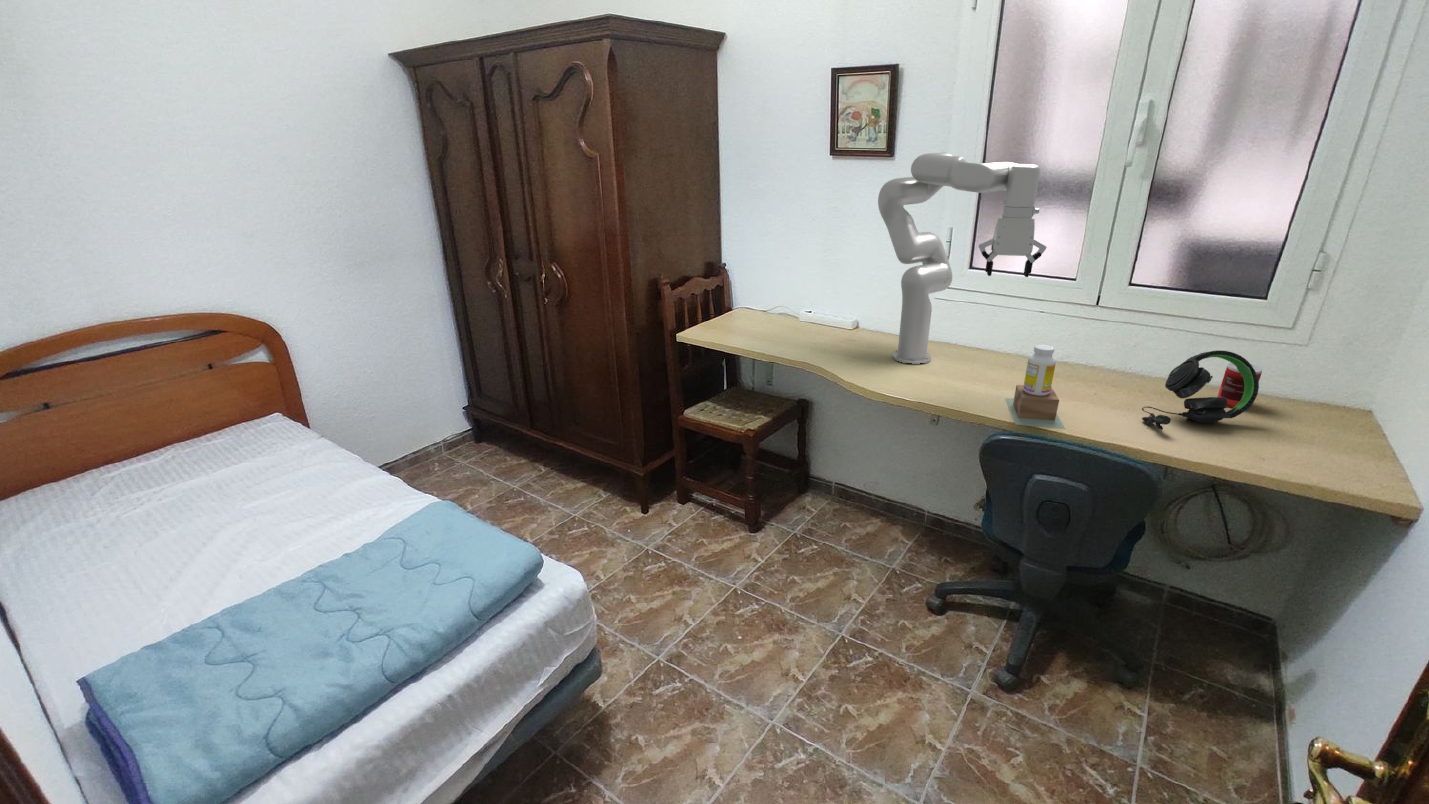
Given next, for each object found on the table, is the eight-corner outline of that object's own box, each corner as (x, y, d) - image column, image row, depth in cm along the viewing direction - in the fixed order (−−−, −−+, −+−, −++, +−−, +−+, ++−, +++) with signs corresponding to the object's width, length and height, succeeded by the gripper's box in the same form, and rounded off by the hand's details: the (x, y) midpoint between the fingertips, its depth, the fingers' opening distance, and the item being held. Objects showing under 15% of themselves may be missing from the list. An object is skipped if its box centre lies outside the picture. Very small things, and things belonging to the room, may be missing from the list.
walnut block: (1012, 404, 181) (1016, 384, 179) (1047, 407, 179) (1051, 387, 177) (1018, 417, 173) (1022, 397, 171) (1054, 420, 171) (1059, 400, 169)
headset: (1151, 450, 174) (1257, 399, 170) (1178, 452, 161) (1294, 397, 156) (1116, 392, 176) (1220, 340, 172) (1140, 390, 162) (1253, 333, 158)
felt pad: (1004, 399, 186) (1004, 397, 185) (1049, 402, 183) (1049, 401, 183) (1015, 426, 170) (1015, 424, 170) (1064, 430, 167) (1065, 428, 167)
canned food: (1243, 399, 182) (1255, 363, 177) (1254, 410, 175) (1268, 373, 171) (1211, 396, 184) (1223, 360, 180) (1221, 407, 177) (1233, 370, 173)
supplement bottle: (1049, 389, 175) (1058, 344, 170) (1049, 398, 170) (1059, 352, 165) (1022, 385, 178) (1030, 341, 173) (1022, 394, 172) (1030, 349, 167)
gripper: (1049, 211, 175) (1037, 273, 182) (981, 210, 179) (973, 271, 186) (1055, 215, 168) (1043, 279, 175) (985, 214, 172) (976, 277, 179)
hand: (1007, 275), depth 180 cm, fingers open, 9 cm apart
